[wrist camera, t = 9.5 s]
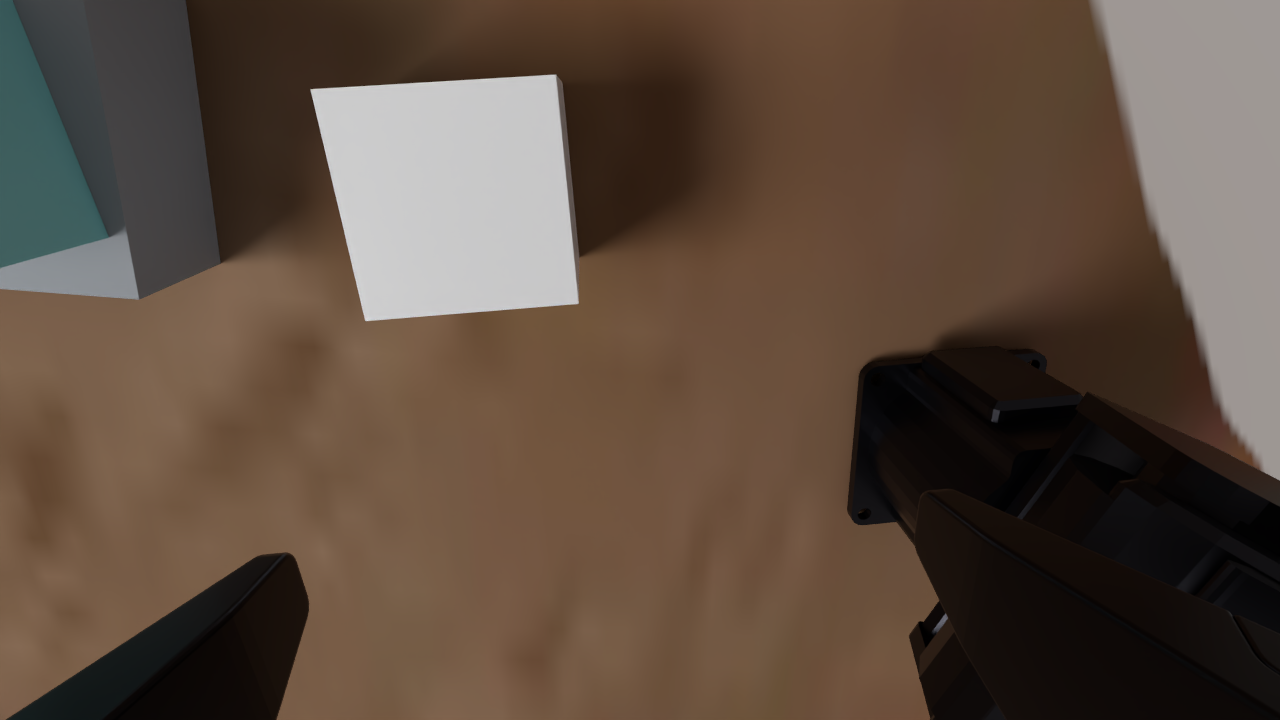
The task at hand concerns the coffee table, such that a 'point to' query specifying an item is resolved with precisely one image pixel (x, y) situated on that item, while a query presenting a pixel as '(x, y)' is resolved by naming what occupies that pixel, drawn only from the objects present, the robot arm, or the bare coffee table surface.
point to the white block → (454, 194)
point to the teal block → (36, 160)
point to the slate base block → (125, 145)
